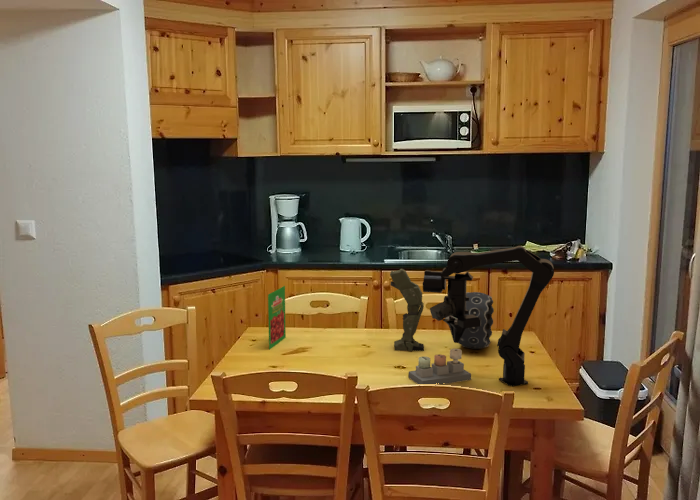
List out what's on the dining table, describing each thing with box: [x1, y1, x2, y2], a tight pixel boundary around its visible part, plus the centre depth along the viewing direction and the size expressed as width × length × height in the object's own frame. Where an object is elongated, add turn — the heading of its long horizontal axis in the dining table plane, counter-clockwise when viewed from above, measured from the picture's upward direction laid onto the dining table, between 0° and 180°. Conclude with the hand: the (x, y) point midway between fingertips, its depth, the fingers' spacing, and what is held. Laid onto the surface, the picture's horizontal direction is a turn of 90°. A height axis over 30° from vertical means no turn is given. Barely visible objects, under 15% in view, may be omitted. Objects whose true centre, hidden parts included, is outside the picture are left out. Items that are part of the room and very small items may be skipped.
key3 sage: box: [417, 356, 431, 369], centre depth 199 cm, size 4×4×5 cm
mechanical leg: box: [389, 268, 425, 352], centre depth 229 cm, size 14×7×30 cm, turn 84°
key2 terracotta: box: [433, 353, 447, 366], centre depth 201 cm, size 4×4×5 cm
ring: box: [457, 291, 495, 350], centre depth 231 cm, size 11×20×20 cm, turn 160°
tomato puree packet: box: [267, 285, 287, 350], centre depth 235 cm, size 15×1×20 cm, turn 163°
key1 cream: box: [449, 348, 463, 364], centre depth 203 cm, size 4×4×5 cm
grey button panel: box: [408, 360, 472, 385], centre depth 201 cm, size 9×17×4 cm, turn 112°
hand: (455, 342), depth 202 cm, fingers closed
